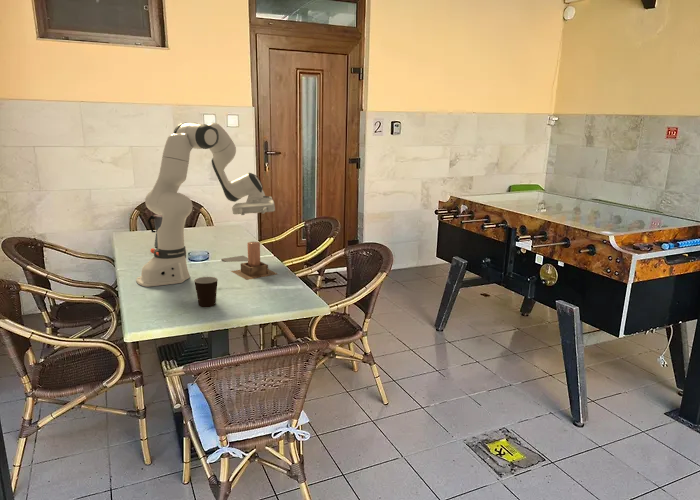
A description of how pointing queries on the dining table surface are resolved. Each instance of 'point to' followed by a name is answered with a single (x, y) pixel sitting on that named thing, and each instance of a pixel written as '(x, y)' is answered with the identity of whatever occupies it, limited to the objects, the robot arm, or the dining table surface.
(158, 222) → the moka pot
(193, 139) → the robot arm
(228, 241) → the dining table surface
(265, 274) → the jug stand
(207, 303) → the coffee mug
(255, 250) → the brown tall block piece
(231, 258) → the mat
